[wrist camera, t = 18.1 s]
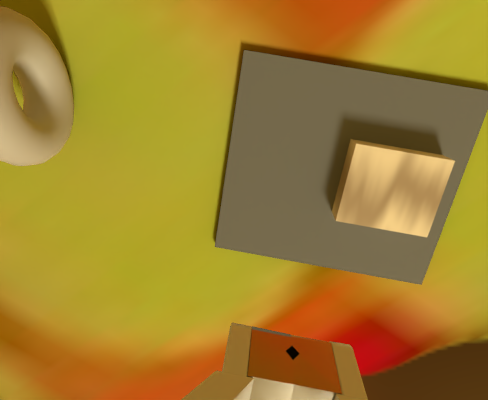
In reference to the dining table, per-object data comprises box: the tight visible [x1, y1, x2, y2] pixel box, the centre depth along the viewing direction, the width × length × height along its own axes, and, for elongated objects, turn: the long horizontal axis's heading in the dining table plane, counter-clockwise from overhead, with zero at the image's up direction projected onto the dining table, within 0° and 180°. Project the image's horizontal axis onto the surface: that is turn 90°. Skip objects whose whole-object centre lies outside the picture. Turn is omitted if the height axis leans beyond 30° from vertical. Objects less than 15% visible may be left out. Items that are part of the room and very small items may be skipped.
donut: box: [0, 6, 74, 166], centre depth 24 cm, size 10×4×10 cm, turn 3°
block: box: [332, 139, 455, 237], centre depth 27 cm, size 6×2×7 cm
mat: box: [215, 50, 488, 285], centre depth 28 cm, size 16×18×1 cm
